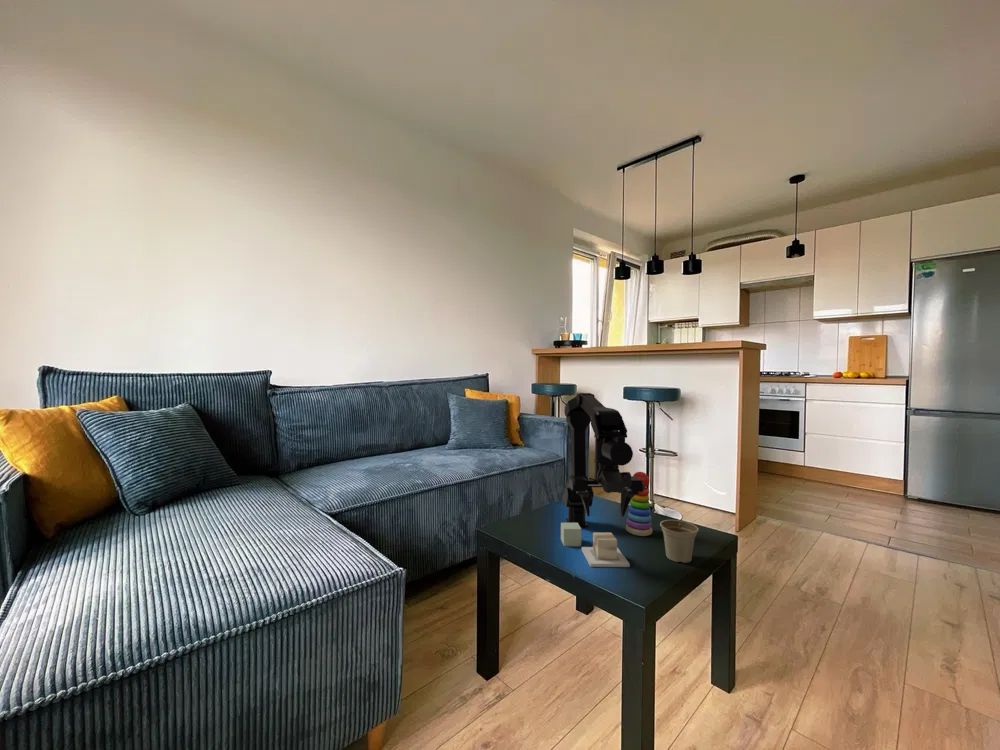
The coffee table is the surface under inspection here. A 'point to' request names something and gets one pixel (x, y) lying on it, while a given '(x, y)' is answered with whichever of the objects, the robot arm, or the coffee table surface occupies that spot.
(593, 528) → the coffee table surface
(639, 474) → the stacking toy
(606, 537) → the block birch
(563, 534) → the block sage
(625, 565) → the plate
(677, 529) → the flower pot
